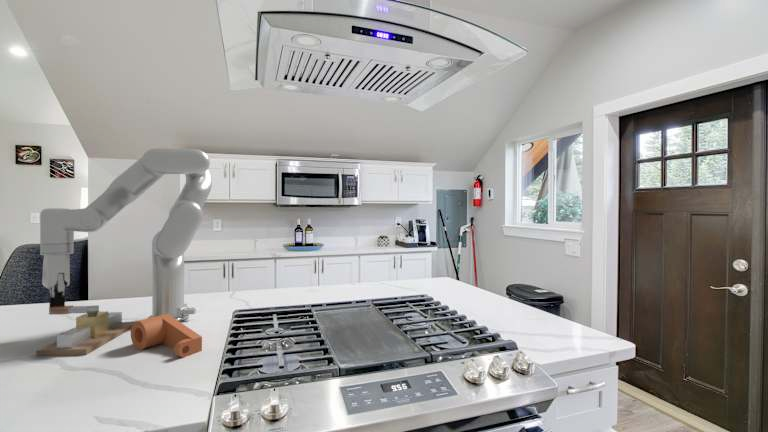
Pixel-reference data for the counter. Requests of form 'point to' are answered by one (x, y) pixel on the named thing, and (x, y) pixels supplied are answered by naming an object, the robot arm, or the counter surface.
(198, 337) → the crank
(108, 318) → the valve body
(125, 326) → the walnut board
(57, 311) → the lever
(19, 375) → the counter surface
